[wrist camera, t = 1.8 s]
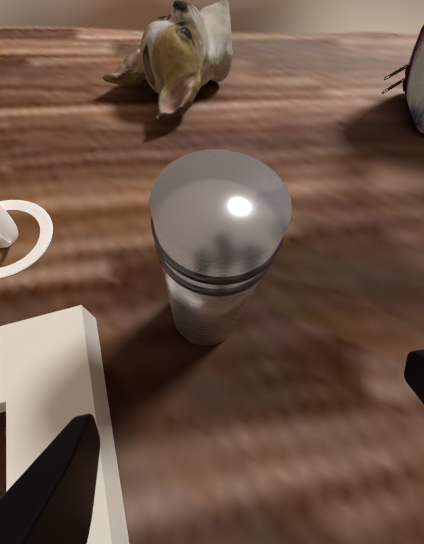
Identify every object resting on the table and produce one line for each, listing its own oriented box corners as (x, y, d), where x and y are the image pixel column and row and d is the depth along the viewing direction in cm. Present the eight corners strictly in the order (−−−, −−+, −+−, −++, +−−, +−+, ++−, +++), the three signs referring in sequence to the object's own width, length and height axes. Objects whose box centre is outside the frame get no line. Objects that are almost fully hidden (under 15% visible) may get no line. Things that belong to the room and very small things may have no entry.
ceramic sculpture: (267, -4, 27) (150, 57, 22) (253, 87, 35) (165, 145, 30) (193, -39, 30) (77, 9, 26) (196, 52, 38) (107, 100, 33)
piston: (248, 335, 21) (320, 241, 9) (181, 356, 20) (167, 282, 8) (225, 275, 23) (260, 138, 11) (164, 292, 22) (133, 160, 10)
